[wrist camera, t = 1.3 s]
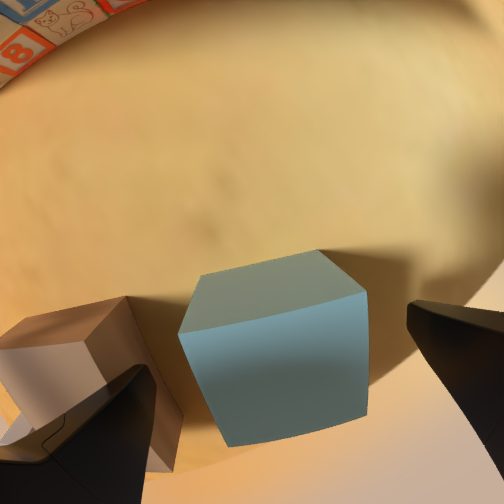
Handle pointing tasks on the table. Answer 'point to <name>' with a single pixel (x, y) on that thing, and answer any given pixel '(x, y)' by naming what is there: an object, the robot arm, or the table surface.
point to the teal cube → (279, 347)
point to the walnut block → (83, 368)
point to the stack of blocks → (46, 27)
